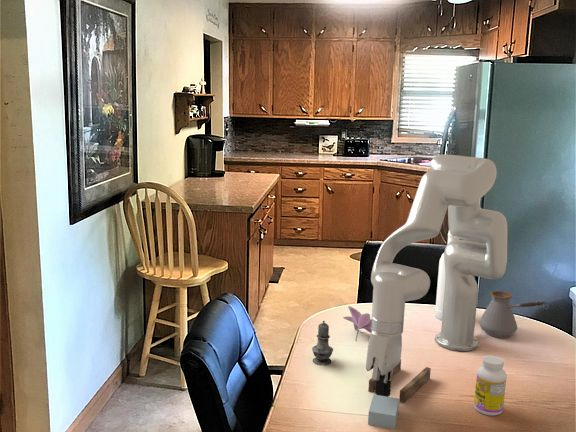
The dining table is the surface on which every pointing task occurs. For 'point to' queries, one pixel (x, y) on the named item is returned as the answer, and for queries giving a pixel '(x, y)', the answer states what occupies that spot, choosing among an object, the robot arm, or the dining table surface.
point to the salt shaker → (322, 346)
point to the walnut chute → (410, 387)
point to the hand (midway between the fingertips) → (382, 395)
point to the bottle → (441, 283)
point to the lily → (359, 320)
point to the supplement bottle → (490, 386)
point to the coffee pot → (501, 315)
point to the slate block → (383, 411)
